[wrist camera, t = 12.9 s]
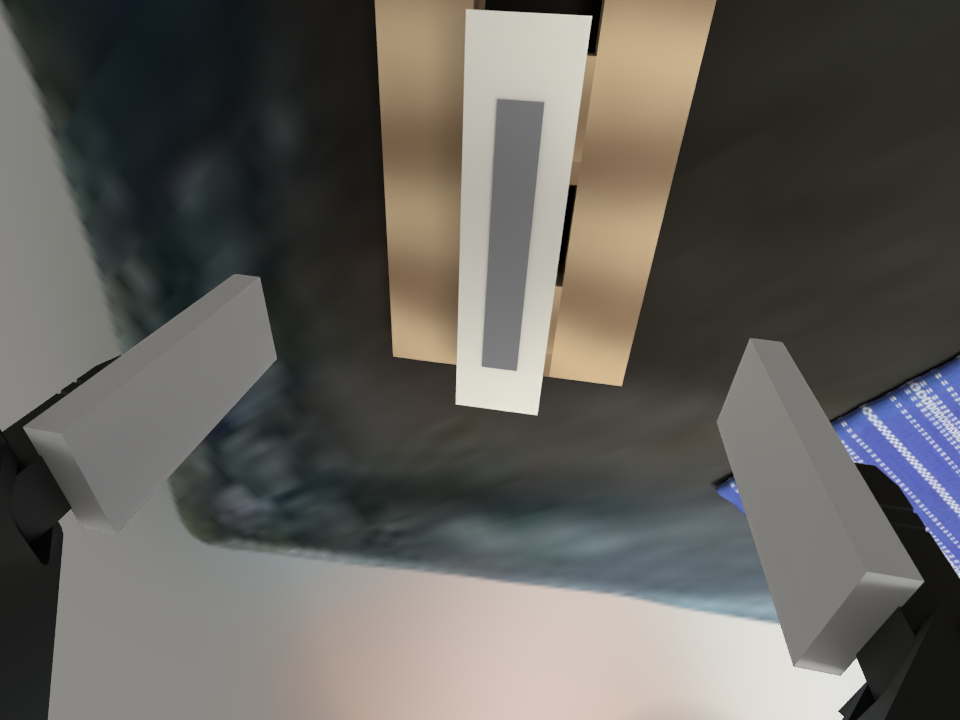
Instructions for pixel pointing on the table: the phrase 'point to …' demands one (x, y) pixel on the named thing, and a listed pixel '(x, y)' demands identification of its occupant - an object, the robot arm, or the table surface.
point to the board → (595, 173)
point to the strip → (514, 197)
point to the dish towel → (910, 450)
